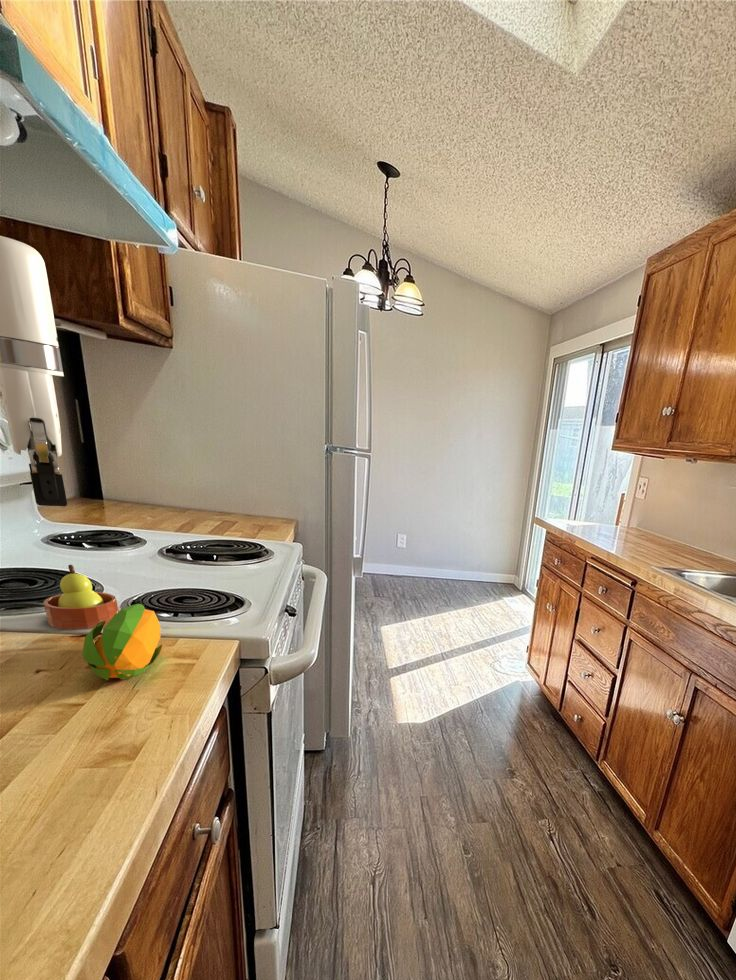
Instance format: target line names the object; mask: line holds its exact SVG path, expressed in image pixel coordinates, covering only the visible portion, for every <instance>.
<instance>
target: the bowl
mask: <svg viewBox="0 0 736 980" xmlns="http://www.w3.org/2000/svg"><path fill="white" fill-rule="evenodd" d="M95 592H96V593H97V594H98V595H99V596H100V597H101V598H102V599H103V601H104V604H102V605H97V606H91V607H83V608H63V607H58V601H59V598H60V596H61V595H62V594H63V593H61V594H56V595H52V596H50V597H47V598H46V599H45V600H43V606H44V611H45V614H46V619H47V623H48V625H49V626H50V627H52V628H56V629H61V630H70V631H71V630H74V631H75V630H76V631H78V630H92V629H93V628H94V627H95V626H96V625H97V624H98V623H100V622H102V621H105V620H106V622H105V624H104V626H103V627H105V626H106V625H107V623H108V622H109V621H110V620H111V619H112V617H113V616H114V615H115V614H116V613H117V612H119V611H120V610H119V606H118V601H117V598H116V596H115V595H113V594H111V593H107V592H106V593H105V592H101V591H99V592H98V591H95ZM102 634H103V632H101V634H100V635H99V636H101V635H102ZM87 635H88V633H87V634H78V635H69V636H67V637H68V638H85V637H86V636H87Z"/></svg>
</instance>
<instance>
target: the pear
mask: <svg viewBox="0 0 736 980" xmlns="http://www.w3.org/2000/svg"><path fill="white" fill-rule="evenodd" d="M67 567H68V570H69V573H68V574H66V575H64V576H63V577H62V578H61V580H60V582H59V588H60V591H61V592H62V593H61V594H62V595H61V596H60V598H59V601H58V607H63V608H83V607H91V606H97V605H102V604H104V601H103V599H102V598H101V597H100V596H99V595H98V594H97V593H96V592H97V591H94V590H93V584H92V582H91V580H90V579H89V578H88V577H87V576H85V575H83V574H81V573H76V571H75V570H76V569H75V567H74V565H73V564H68V565H67Z"/></svg>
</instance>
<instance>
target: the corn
mask: <svg viewBox="0 0 736 980" xmlns="http://www.w3.org/2000/svg"><path fill="white" fill-rule="evenodd" d="M118 611H119V612H117V613H116V614H115V615H114V616H113V617H112V619H111V620H110V621H109V622H108V623H107V625H106V626H104V624H105V622H106V620H105V621H102V622H100V623H98V624H97V625H96V626H95V627H94V628H91V629H90V631H89V632H88V633H87V634H88V635H87V634H86V635H87V636H86V637H84V639H83V648H82V657H83V660H84V661H86V663H87V664H88V666H89V667H90V668H91V670H92V671H93V673H94V674H95V675H96V676H98V677H100V678H102V679H103V680H106V681H109V680H110V679H114V678H115V679H120V680H123V681H128V680H131V679H132V678H135V677H137V676H140V675H142V674H143V673H145V672H146V671H147V670H148V669H149V667H151V666H152V664H153V663H154V662H155V660H156V659H157V658H158V656H159V655H160V654H161V650H162V647H163V644H160V645H158V644H159V641H160V639H161V630H162V629H161V628H162V627H161V624H160V622H159V619H158V617H157V615H156V613H155V611H154V610H151V609H146V608H145V606H144V605H143V604H141V603H135V604H131V605H129V606H125V607H123V608H121V609H120V610H118ZM101 633H103V634H101ZM100 634H101V635H100ZM97 637H98V638H97ZM96 638H97V639H96ZM95 639H96V640H95ZM94 640H95V641H94ZM157 646H158V647H157Z"/></svg>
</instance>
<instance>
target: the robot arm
mask: <svg viewBox="0 0 736 980" xmlns="http://www.w3.org/2000/svg"><path fill="white" fill-rule="evenodd" d="M47 273H48V272H47V268H46V263H45V260H44V259H43V256H42V255H41V253H40V252H39V251H37V250H36V249H35V248H34V247H32V246H31V245H28V244H27V243H24V242H22V241H20V240H16V239H14V238H10V237H6V236H3V235H0V391H1V397H2V402H3V407H4V412H5V417H6V421H7V427H8V431H9V436H10V440H11V445H12V448H13V452H14V453H16V454H17V455H20V456H21V455H22V451H27V453H28V454H27V455H28V457H29V463H28V467H29V474H30V481H31V485H32V490H33V494H34V499H35V503H36V505H38V506H41V507H43V506H45V507H48V506H49V507H66V506H68V500H67V494H66V489H65V483H64V478H63V477H64V476H63V474H62V473H60V468H59V463H58V458H59V457H61V456H62V455H63V450H62V449H63V447H62V445H63V444H62V432H61V423H60V415H59V409H58V402H57V396H56V395H57V394H56V390H55V384H54V377H53V376H58V377H65V375H64V370H63V369H64V368H63V363H62V357H61V352H60V345H59V338H58V333H57V327H56V321H55V316H54V308H53V303H52V298H51V297H52V296H51V292H50V291H51V290H50V285H49V279H48V274H47Z"/></svg>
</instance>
